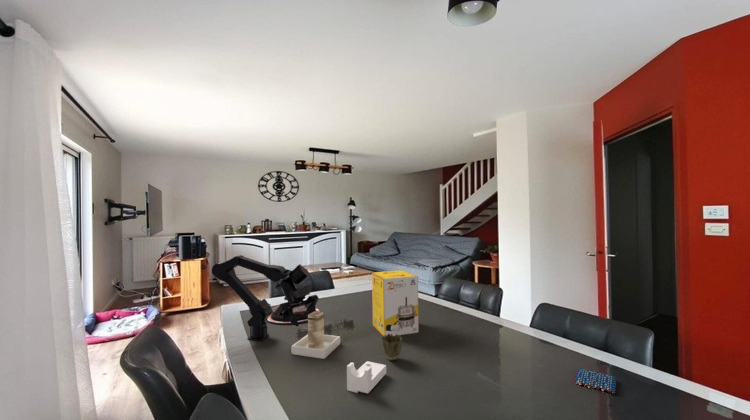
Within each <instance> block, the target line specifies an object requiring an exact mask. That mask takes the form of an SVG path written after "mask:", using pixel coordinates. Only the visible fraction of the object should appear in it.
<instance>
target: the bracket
mask: <svg viewBox="0 0 750 420" xmlns="http://www.w3.org/2000/svg"><path fill="white" fill-rule="evenodd" d="M386 374H387V365H386V364H382V363H378V362H372V361H370V360H369V361H368V360H367V361H366V362H365V363H363V364H362V365H361V366H360V367H359V368H356V367H355V362H350V363H349V364H347V365H346V390H347V391H349V392H353V393H356V394H358V393H359V392H360V393H364V394H369V393H370V392H371V390H372V389H374V387H375V386H376V385H377V384H379V382H380V381H381V380H382V379H383V377H385V375H386Z"/></svg>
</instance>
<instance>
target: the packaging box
mask: <svg viewBox="0 0 750 420" xmlns="http://www.w3.org/2000/svg"><path fill="white" fill-rule="evenodd" d="M371 285H372V286H371V288H372V289H371V290H372V291H371V292H372V293H371V294H372V295H371V296H372V300H371V302H372V326H373V327H374V328H375V329H376V330H377V331H378V332H379V333H380V335H382V337H383V336H384V337H385V335H386V336H387V335H388V334H390V335H391V334H392V336H396V334H397V335H400V336H402V335H403V336H404V335H411V334H417V333H419V327H420V326H419V321H420V319H419V276H418V275H417V274H414V273H411V272H409V271H406V270H404V269H401V270H387V271H376V272H375V271H374V272H371Z"/></svg>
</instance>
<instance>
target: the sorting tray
mask: <svg viewBox="0 0 750 420" xmlns="http://www.w3.org/2000/svg"><path fill="white" fill-rule="evenodd" d="M340 345H341V336H338V335H331V334H330V335H329V334H324V346H323V347H321V348H320V349H315V348H308V334H306V335H305V336H303V337H302V338H301V339H299V340H298V341H296V342H295V343H294V344H292V345H291V346H290V348H291V349H290V351H291V352H290V354H291V355H295V356H302V357H309V358H315V359H322V360H325V359H326V358H327V357H328V356H329V355H330V354H332V352H334V351H335V349H336V348H338V347H339V346H340Z"/></svg>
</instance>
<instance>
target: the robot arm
mask: <svg viewBox="0 0 750 420" xmlns="http://www.w3.org/2000/svg"><path fill="white" fill-rule="evenodd" d="M236 267H242V268H244V269H246V270H249V271H252V272H256V273H258V274H261V275H263V276H264V277H265V278H266V279H268V280H270V281H272V282H276V285H275V289H276V290H281V291H282V293H283V295H284V298H283V299H284V301H286V302H282V303H280V304H278V305H279V307H278V308H277V309H276V315H277V317H280V316H281V318H284V319H286V320H288V321H289V322H291V323H292V324H291V325H294V326H295V327H299V324H300V323H298V321H297V319H296V317H295V315H294V314H293V309H294V308H297V307H301V306H304V305H305V307H306V308H307V309H306V310H307V311H308V312H309V314H311V313H312V312H316V309H315V308H316V305H317V303H318V302H319V300H320V297H319V296H318V295H317V294H313V295H311V294H310V293H312V291H313V289H312V286H311V285H310V284H307V285H304V286H303V287H302V288H301V287H299V288H297V285H301V284H302V283H303V282H305V281H306V280H307V279H308V278H310V277H311V273H310V272H309V270H308V269H307V268H305V267H304V266H303V265H301V264H298V265H297V266H296V267H295V268H294V269H293V270H290V269H286V268H285V267H284V266H283V265H276V264H266V263H264V262H260V261H257V260H254V259H252V258H249V257H247V256H244V255H241V254H239V255H236V256H233V257H232V258H230V259H228V260H225V261H222V262H218V263H215V264H214V265H213V266H212V267H211V273H212V275H213V276H214V277H215V278H216V279H217V280H219V281H221V282H224V283H226V284H227V285H228V286H229V288H230V289H231V290H232V291H233V292H234V293H235V294H236V295H237V296H238V297H239V298H240V299H241V300H242V302H243V303H244V304H245V305H246V306H247V307H248V310H249V313H250V315H251V317H250V318H249V319H248V320H247V324H248V327H249V336H248V337H247V340H253V341H262V340H264V339H265V338H267V337H268V336H270V334H269V333H268V321H267V319H268V317H269V316H270V315H271V313H272V308H273V307H272V306H271V304H270V303H269V302H268V301H267V300H266V299H265V298H263V299H259V298H257V296H256V295H255V294H254V293H253V292H252V291H251V290H250V288H248V287H247V286H246V284H245V283H244V282H243V281H242V280H241V279H240V278H239V277H238V276H237V274H236V271H235V268H236ZM279 281H280V282H279ZM305 299H306V300H305Z"/></svg>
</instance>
